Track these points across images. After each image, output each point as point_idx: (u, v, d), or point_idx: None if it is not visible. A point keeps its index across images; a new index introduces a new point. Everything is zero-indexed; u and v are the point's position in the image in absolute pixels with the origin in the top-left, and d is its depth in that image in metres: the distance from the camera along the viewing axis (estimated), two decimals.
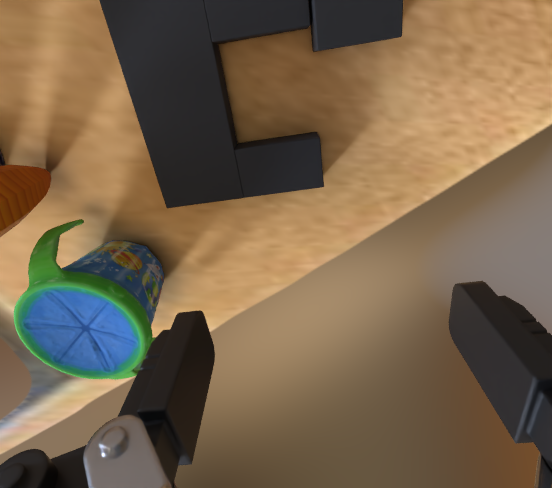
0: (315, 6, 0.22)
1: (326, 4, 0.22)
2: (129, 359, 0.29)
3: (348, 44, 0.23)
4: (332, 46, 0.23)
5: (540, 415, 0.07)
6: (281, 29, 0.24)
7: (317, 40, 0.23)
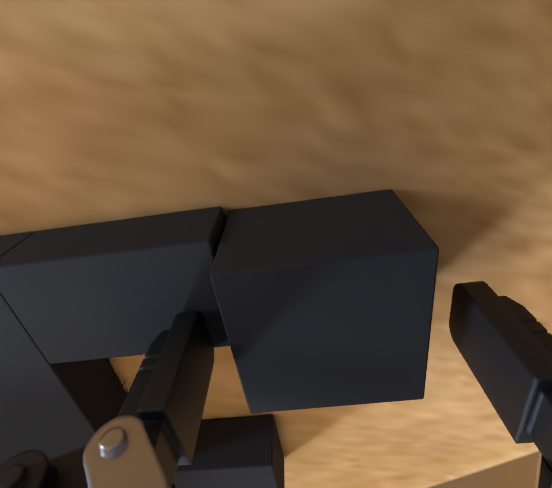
0: (235, 360, 0.10)
1: (259, 359, 0.10)
2: None
3: (312, 406, 0.11)
4: (279, 410, 0.11)
5: (540, 415, 0.07)
6: None
7: (248, 399, 0.11)
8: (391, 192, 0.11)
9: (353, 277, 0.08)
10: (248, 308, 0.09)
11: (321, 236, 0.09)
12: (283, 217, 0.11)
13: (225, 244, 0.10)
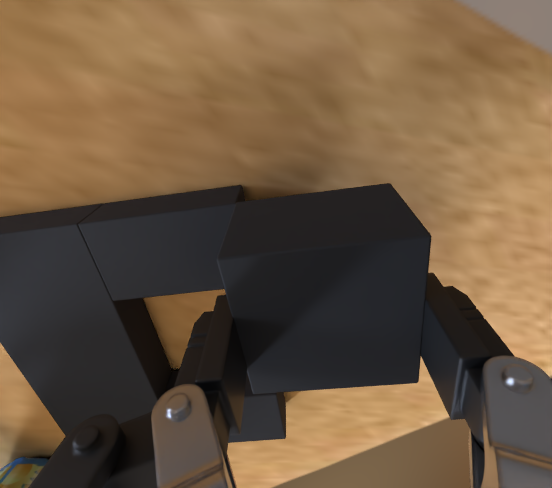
0: None
1: (262, 341, 0.10)
2: None
3: (312, 388, 0.12)
4: (280, 391, 0.12)
5: (467, 392, 0.08)
6: (211, 289, 0.16)
7: (251, 380, 0.12)
8: (390, 186, 0.12)
9: (351, 263, 0.09)
10: (252, 291, 0.10)
11: (321, 225, 0.10)
12: (286, 208, 0.11)
13: (231, 232, 0.10)
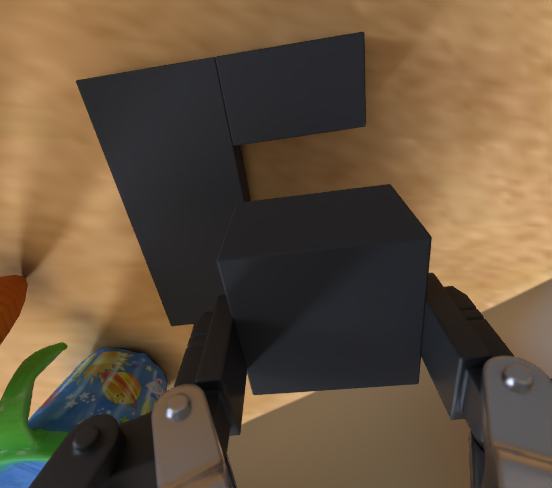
0: None
1: (262, 342, 0.10)
2: None
3: (312, 389, 0.12)
4: (280, 392, 0.12)
5: (467, 392, 0.08)
6: (326, 131, 0.18)
7: (251, 382, 0.11)
8: (390, 186, 0.12)
9: (351, 264, 0.09)
10: (252, 292, 0.09)
11: (321, 226, 0.10)
12: (286, 209, 0.11)
13: (231, 233, 0.10)
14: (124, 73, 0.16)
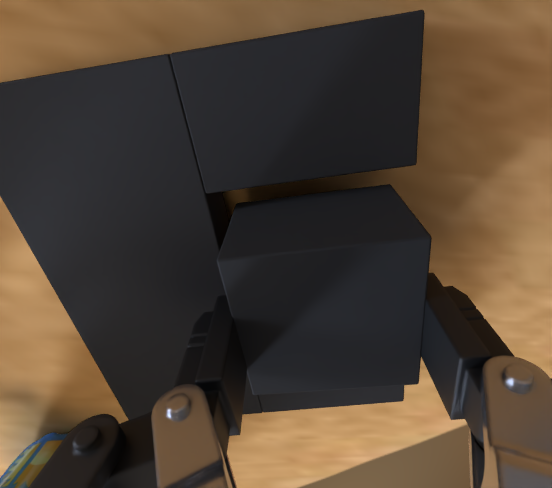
0: None
1: (262, 342, 0.10)
2: None
3: (312, 389, 0.12)
4: (280, 392, 0.12)
5: (467, 392, 0.08)
6: (352, 172, 0.11)
7: (251, 382, 0.11)
8: (390, 187, 0.12)
9: (351, 264, 0.09)
10: (252, 292, 0.09)
11: (321, 226, 0.10)
12: (286, 209, 0.11)
13: (231, 233, 0.10)
14: (20, 81, 0.10)
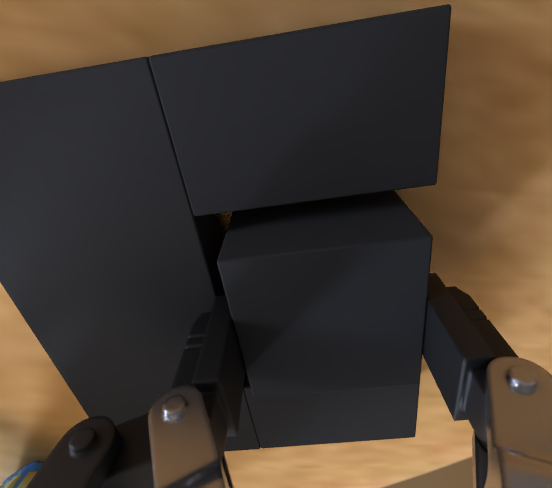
0: (240, 345, 0.10)
1: (262, 344, 0.10)
2: None
3: (313, 391, 0.11)
4: (281, 394, 0.11)
5: (471, 393, 0.08)
6: (363, 192, 0.10)
7: None
8: None
9: (352, 264, 0.09)
10: (253, 294, 0.09)
11: (322, 227, 0.10)
12: (286, 210, 0.11)
13: (231, 234, 0.10)
14: None
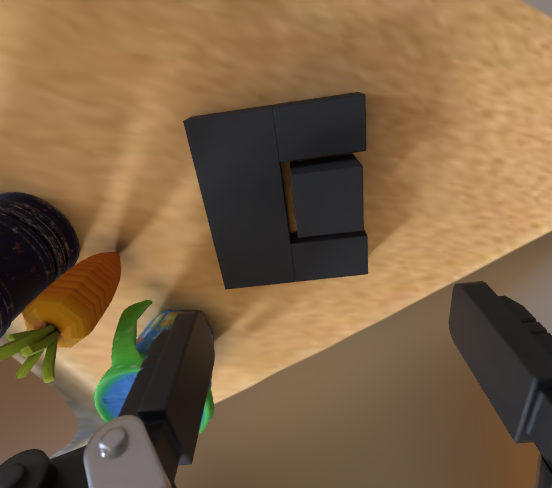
0: (295, 211, 0.28)
1: (303, 210, 0.28)
2: None
3: (322, 234, 0.29)
4: (309, 235, 0.29)
5: (540, 415, 0.07)
6: (340, 153, 0.27)
7: (297, 231, 0.29)
8: (352, 154, 0.29)
9: (336, 176, 0.26)
10: (302, 188, 0.27)
11: (326, 165, 0.27)
12: (312, 162, 0.29)
13: (292, 169, 0.28)
14: (214, 117, 0.26)
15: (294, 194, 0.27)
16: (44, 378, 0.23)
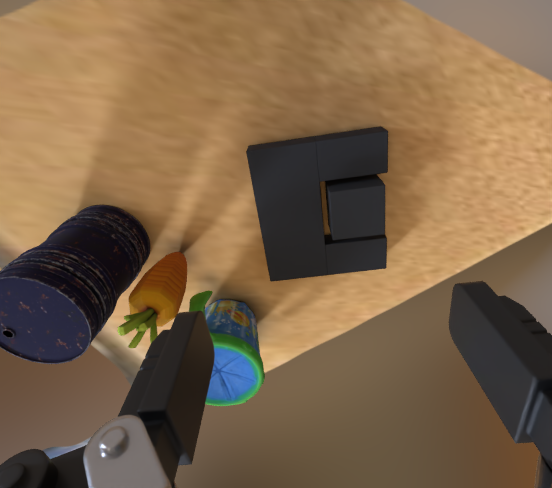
0: (331, 219, 0.36)
1: (338, 219, 0.36)
2: (247, 392, 0.40)
3: (351, 237, 0.37)
4: (342, 238, 0.37)
5: (540, 415, 0.07)
6: (367, 174, 0.35)
7: (332, 235, 0.37)
8: (375, 174, 0.37)
9: (365, 193, 0.34)
10: (337, 202, 0.35)
11: (356, 184, 0.35)
12: (343, 180, 0.36)
13: (329, 187, 0.35)
14: (271, 148, 0.34)
15: (331, 207, 0.35)
16: None
